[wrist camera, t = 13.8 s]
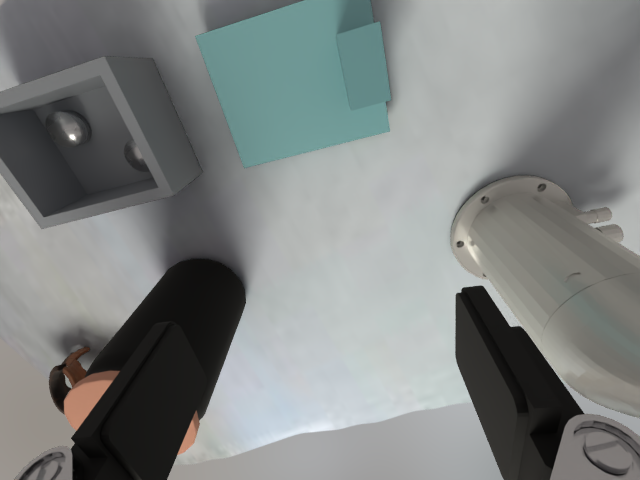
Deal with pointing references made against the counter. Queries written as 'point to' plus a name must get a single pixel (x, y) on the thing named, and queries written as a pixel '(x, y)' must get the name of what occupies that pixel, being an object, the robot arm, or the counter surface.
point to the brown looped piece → (72, 373)
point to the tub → (93, 141)
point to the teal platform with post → (300, 78)
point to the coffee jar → (186, 311)
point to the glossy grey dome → (68, 128)
